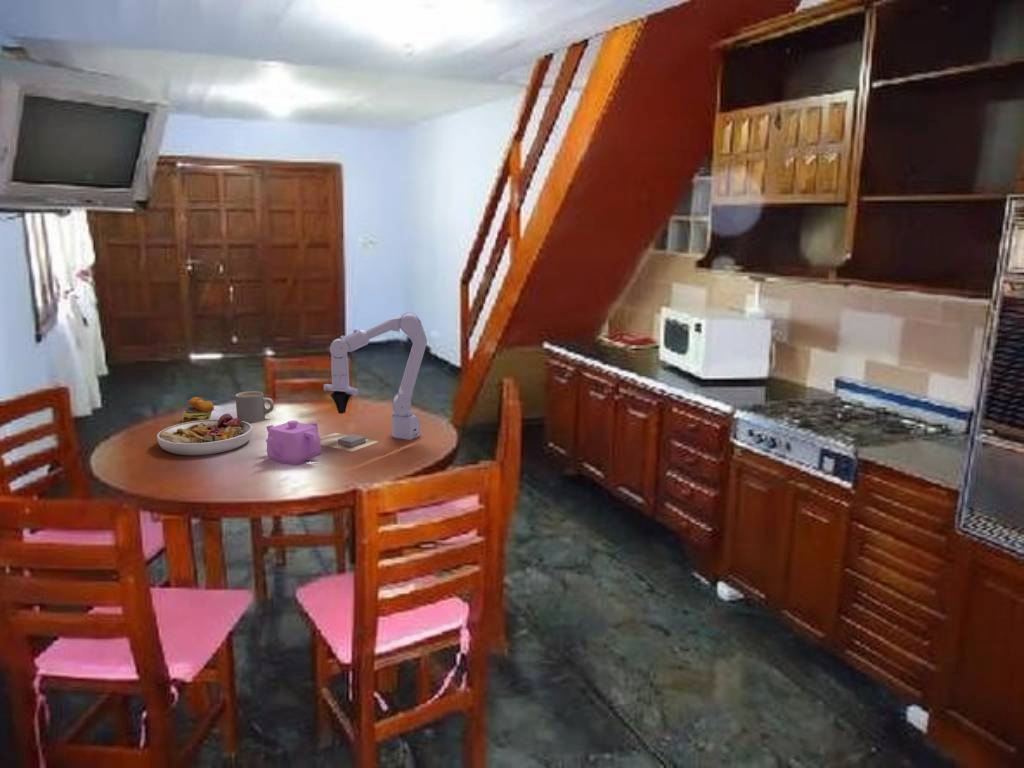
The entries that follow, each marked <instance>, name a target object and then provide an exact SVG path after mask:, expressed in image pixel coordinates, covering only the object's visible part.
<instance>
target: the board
mask: <svg viewBox="0 0 1024 768" xmlns="http://www.w3.org/2000/svg"><path fill="white" fill-rule="evenodd" d="M346 436H349V435H347V434H343V433H340V432H339V433H338V432H333V433H331V434H328V435H324V436H321V437H320V442H321V446H324V447H329V448H333V449H338V450H343V451H348V452H351V453H352V452H355V451H358V450H360V449H364V448H366V447H369V446H371V445H373V444H376V443H378V441H377V440H372V439H367V438H366V442H365V443H362V444H359V445H357V446H354V447H347V446H343V445H339V444H338V439H340V438H343V437H346Z"/></svg>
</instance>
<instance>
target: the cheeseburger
mask: <svg viewBox="0 0 1024 768" xmlns="http://www.w3.org/2000/svg"><path fill="white" fill-rule="evenodd" d="M187 404H188V405H189V406H188V407H187V408H186V409H184V411H183V413H182V414H181V415H182V417H181V418H180V419H181V421H182V423H186V422H192V421H199V420H210V419H211V416H212V412H213V411H215V406H214V403H213V402H212V401H210V400H204V399H203V398H201V397H199V396H194V397H191V398H190V399H189V400H188V402H187Z"/></svg>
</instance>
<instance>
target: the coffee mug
mask: <svg viewBox="0 0 1024 768" xmlns="http://www.w3.org/2000/svg"><path fill="white" fill-rule="evenodd" d="M266 402H268V403H269V406H270V407H269V408H266V405H265V403H266ZM235 406H236V418H239V419H240V420H241V421H244V422H247V423H249V424H254V423H255V424H256V423H260V422H263V421H265V419H266V417H265V416H267V415H268V414H270V413H271V412H272V411H273V410H274V407H275V405H274V400H273V399H272V398H270V397H264V393H263V392H262V391H256V390H253V391H251V390H250V391H244V392H242V391H241V392H239V393H236V394H235Z"/></svg>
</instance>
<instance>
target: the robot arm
mask: <svg viewBox="0 0 1024 768" xmlns="http://www.w3.org/2000/svg"><path fill="white" fill-rule="evenodd" d="M400 329H401V331H402V332H403V334H405V335H406V336H408V338H409V339H410V341H411V343H412V346H411V349H410V352H409V356H408V359H407V362H406V366H405V369H404V373H403V376H402V379H401V383H400V387H399V388H398V390H397V391H398V392H397V393H396V394H395V395H394V397H393V400H392V410H393V411H391V425H392V432H391V433H392V434H391V435H392V437H393V438H396V439H402V440H403V439H404V440H408V441H409V440H410V441H411V440H413V439H416V438H419V437H421V421H420V419H419V417H418V416H416V415H414V414H413V410H412V397H413V393H414V389H415V385H416V382H417V378H418V374H419V371H420V368H421V364H422V361H423V359H424V354H425V350H426V347H427V344H428V339H427V336H426V333H425V332H426V331H424V327H423V324H422V321H421V319H420V318H419V316H418V315H416V314H415V313H414V312H409V311H408V312H405V313H403V314H399V315H397V316H393V317H390V318H389V319H386V320H384V321H383V322H380V323H378V324H376V325H375V326H373V327H370V328H368V329H366V330H365V329H362V328H359V329H358V328H355V329H353V331H352V332H351V333H349V334H345V335H341V336H340V338H336V339H333V341H332V342H331V343H330V346H329V352H330V355H331V356H330V360H331V361H330V365H331V367H330V368H331V369H330V370H331V384H329V383H326V384H325V383H324V384H323V391H329V392H332V393H330V397H331V398H332V400H333V402H334V404H335V407H336V410H337V413H338V414H341V415H343V414H344V413H346V411H347V406H348V403H349V400H350V397H352V396H357V395H359V394H360V393H359V392H360V391H359V388H356V387H353V386H350V372H349V371H350V370H349V360H348V352H354V351H356V350H358V349H360V348H362V347H365V346H367V345H369V342H370V340H371V339H374V338H376V337H378V336H381V335H383V334H385V333H388V332H390V331H393V332H400Z"/></svg>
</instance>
